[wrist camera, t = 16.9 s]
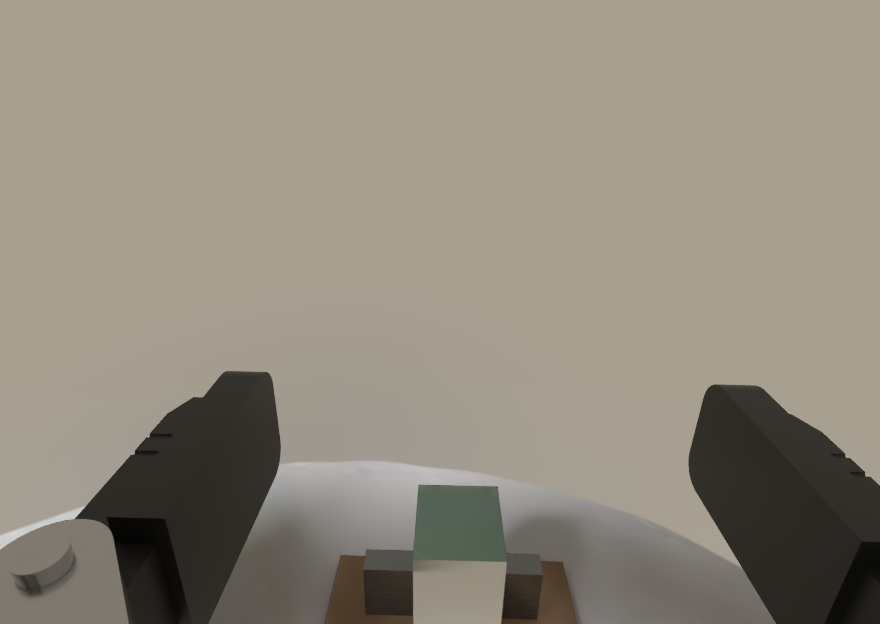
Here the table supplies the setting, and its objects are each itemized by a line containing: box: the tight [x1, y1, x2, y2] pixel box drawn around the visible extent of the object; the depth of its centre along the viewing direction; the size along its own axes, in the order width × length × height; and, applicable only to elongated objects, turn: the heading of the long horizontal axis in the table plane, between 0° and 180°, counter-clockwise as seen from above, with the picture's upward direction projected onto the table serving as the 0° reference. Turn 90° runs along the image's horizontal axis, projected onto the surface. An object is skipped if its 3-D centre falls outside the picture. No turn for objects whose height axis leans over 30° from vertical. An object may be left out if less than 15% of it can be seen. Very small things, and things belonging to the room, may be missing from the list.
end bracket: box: [363, 550, 543, 620], centre depth 33 cm, size 11×2×4 cm, turn 89°
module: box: [413, 485, 507, 624], centre depth 28 cm, size 4×5×10 cm
